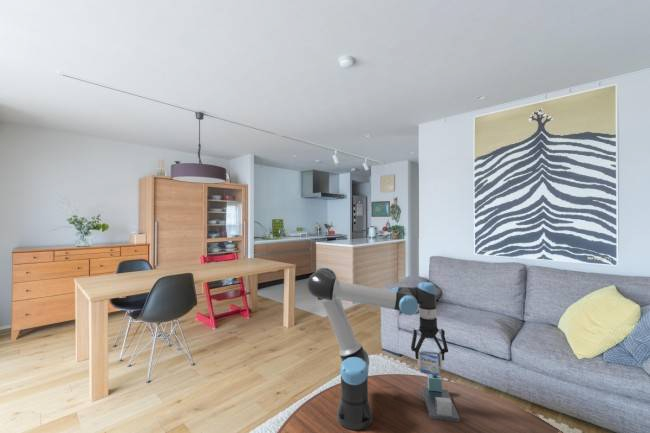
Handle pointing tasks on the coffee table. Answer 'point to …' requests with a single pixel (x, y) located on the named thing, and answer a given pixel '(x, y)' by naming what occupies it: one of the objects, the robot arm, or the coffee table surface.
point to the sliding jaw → (434, 383)
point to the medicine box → (429, 362)
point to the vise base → (433, 405)
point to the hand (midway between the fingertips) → (430, 366)
